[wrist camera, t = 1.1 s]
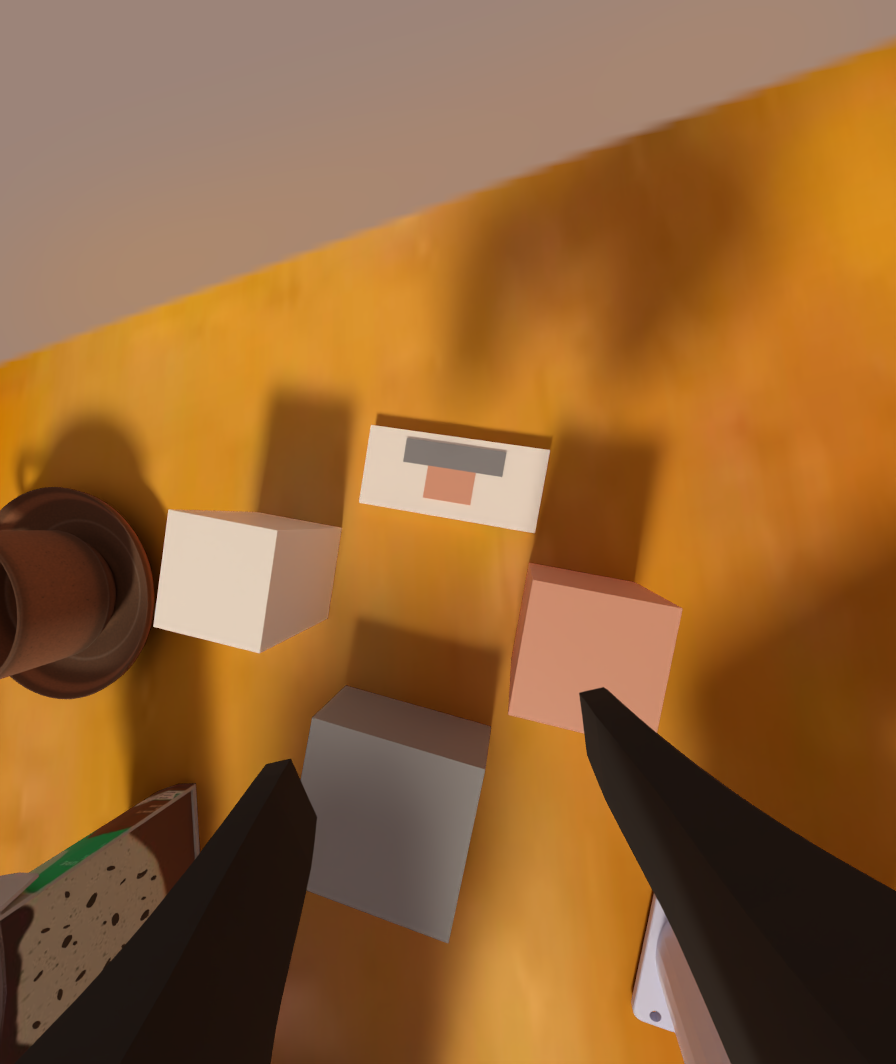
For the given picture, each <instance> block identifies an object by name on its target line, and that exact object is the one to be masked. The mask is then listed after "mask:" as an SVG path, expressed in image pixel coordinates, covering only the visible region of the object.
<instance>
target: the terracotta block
mask: <svg viewBox="0 0 896 1064" xmlns="http://www.w3.org/2000/svg"><path fill="white" fill-rule="evenodd" d="M681 614H682V608H681V607H679V606H677V605H675V604H673V603H672V602H670V601H668V600H666V599H664V598H662V597H661V596H659V595H657V594H655V593H653V592H651V591H650V590H648V589H646V588H644V587H642V586H640V585H639V584H637V583H635V582H631V581H626V580H620V579H615V578H610V577H604V576H599V575H593V574H588V573H583V572H577V571H572V570H567V569H561V568H556V567H550V566H545V565H540V564H534V563H529V566H528V571H527V577H526V582H525V588H524V593H523V599H522V604H521V609H520V615H519V620H518V626H517V631H516V637H515V642H514V648H513V653H512V659H511V674H510V691H509V708H508V715H511V716H516V717H520V718H524V719H528V720H532V721H536V722H540V723H544V724H548V725H552V726H556V727H560V728H564V729H568V730H572V731H576V732H580V733H584V727H583V719H582V711H581V704H580V696H579V693H580V692H584V691H588V690H593V689H597V688H602V687H604V688H606V689H607V690H609V691H610V692H611V693H612V694H613V695H614V696H615V697H616V698H617V699H619V700H620V701H621V702H622V703H623V704H624V705H625V706H626V707H627V708H628V709H630V710H631V711H632V712H633V713H634V714H635V715H636V716H638V717H639V718H640V719H641V720H642V721H643V722H645V723H646V724H647V725H648V726H649V727H650V728H652V729H653V730H654V731H655V732H656V733H657V730H658V725H659V720H660V716H661V711H662V706H663V701H664V696H665V691H666V687H667V682H668V677H669V672H670V667H671V662H672V657H673V653H674V648H675V643H676V638H677V633H678V628H679V623H680V619H681Z"/></svg>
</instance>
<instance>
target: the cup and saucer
mask: <svg viewBox="0 0 896 1064" xmlns="http://www.w3.org/2000/svg"><path fill="white" fill-rule="evenodd" d="M153 611H154V583H153V576H152V572H151V567H150V564H149V561H148V558H147V555H146V553H145V551H144V548H143V546H142V544H141V542H140V541H139V539H138V537H137V535H136V534H135V532H134V531H133V529H132V528H131V526H130V525H129V524H128V523H127V521H126V520H125V519H124V518H123V517H122V516H121V515H120V514H119V513H118V512H117V511H116V510H115V509H113V508H112V507H111V506H110V505H108V504H107V503H105V502H104V501H102V500H100V499H98V498H96V497H94V496H92V495H89V494H87V493H84V492H80V491H77V490H73V489H68V488H61V487H48V488H40V489H36V490H32V491H29V492H27V493H25V494H22V495H20V496H18V497H17V498H15V499H14V500H12V501H11V502H9V503H8V504H7V505H6V506H4V507H3V508H2V509H1V510H0V679H2V678H5V677H8V676H10V677H11V678H13V679H14V680H15V681H16V682H18V683H19V684H21V685H22V686H24V687H25V688H27V689H29V690H31V691H33V692H35V693H38V694H40V695H43V696H47V697H51V698H57V699H75V698H81V697H85V696H88V695H91V694H94V693H96V692H98V691H100V690H102V689H104V688H105V687H107V686H109V685H110V684H112V683H113V682H115V681H116V680H117V679H118V678H120V677H121V676H122V675H123V674H124V673H125V672H126V671H127V670H128V669H129V668H130V667H131V666H132V664H133V663H134V662H135V661H136V659H137V657H138V656H139V654H140V653H141V651H142V649H143V647H144V645H145V642H146V640H147V637H148V634H149V631H150V627H151V623H152V618H153Z"/></svg>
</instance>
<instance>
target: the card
mask: <svg viewBox="0 0 896 1064" xmlns="http://www.w3.org/2000/svg"><path fill="white" fill-rule="evenodd" d="M549 453H550V450H546V449H539V448H532V447H525V446H518V445H511V444H504V443H496V442H489V441H482V440H475V439H468V438H461V437H454V436H447V435H440V434H433V433H425V432H418V431H411V430H404V429H397V428H390V427H383V426H376V425H371V429H370V435H369V442H368V448H367V454H366V461H365V467H364V474H363V480H362V486H361V493H360V499H359V503H364V504H370V505H376V506H381V507H387V508H393V509H399V510H404V511H410V512H416V513H422V514H427V515H433V516H439V517H445V518H450V519H456V520H462V521H468V522H473V523H479V524H485V525H491V526H496V527H502V528H508V529H513V530H519V531H525V532H531V533H535V530H536V525H537V519H538V514H539V508H540V503H541V497H542V492H543V486H544V481H545V475H546V470H547V464H548V459H549Z"/></svg>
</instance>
